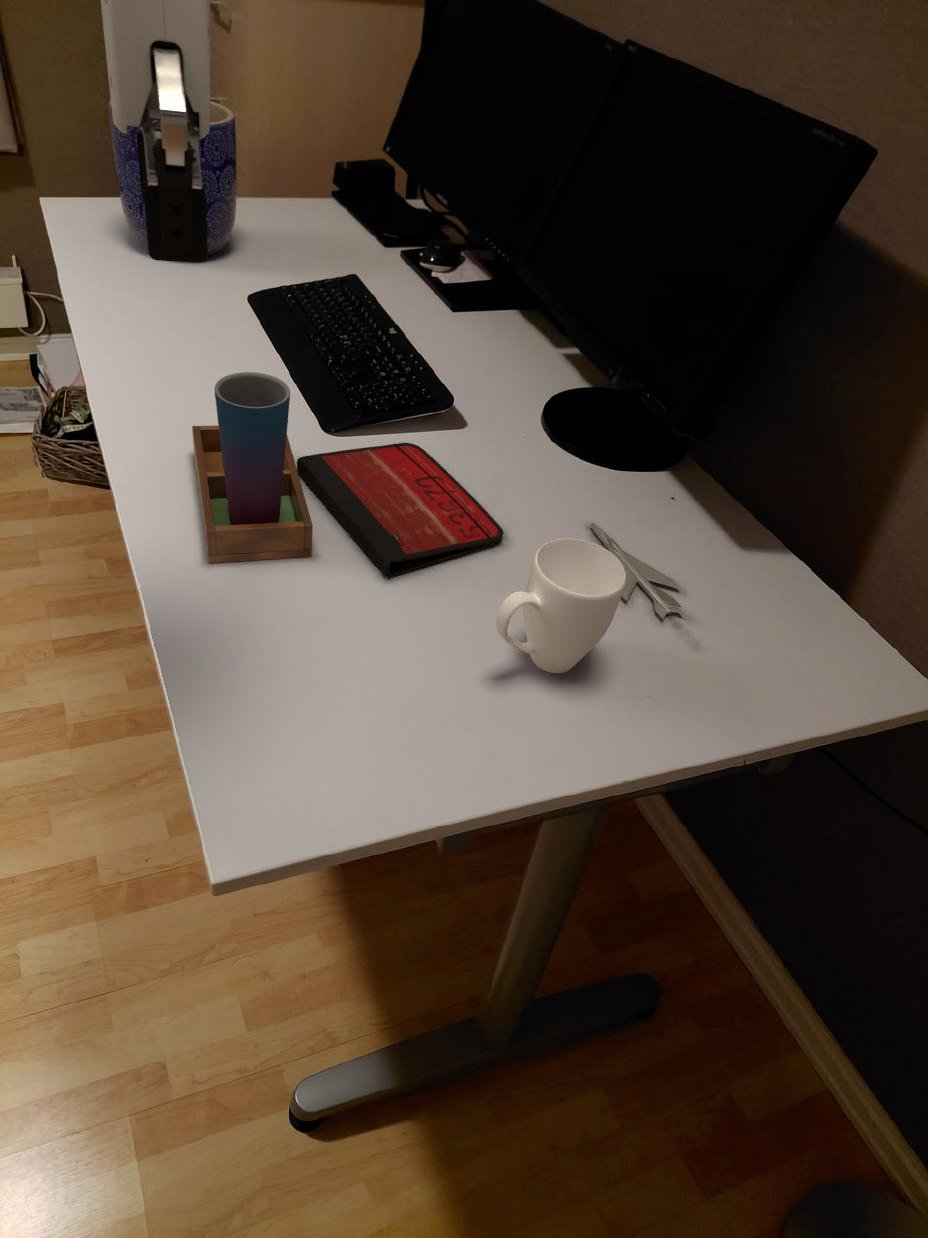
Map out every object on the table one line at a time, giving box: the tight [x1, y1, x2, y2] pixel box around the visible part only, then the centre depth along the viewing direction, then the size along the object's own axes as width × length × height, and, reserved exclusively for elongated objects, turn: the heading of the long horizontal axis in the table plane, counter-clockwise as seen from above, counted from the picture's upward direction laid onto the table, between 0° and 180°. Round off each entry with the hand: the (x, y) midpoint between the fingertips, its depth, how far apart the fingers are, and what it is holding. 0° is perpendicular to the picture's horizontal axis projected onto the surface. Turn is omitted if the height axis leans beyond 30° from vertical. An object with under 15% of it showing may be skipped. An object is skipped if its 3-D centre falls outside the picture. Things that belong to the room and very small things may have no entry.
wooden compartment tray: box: [191, 425, 314, 564], centre depth 91 cm, size 10×20×4 cm, turn 17°
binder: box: [296, 442, 504, 579], centre depth 95 cm, size 16×2×21 cm
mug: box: [495, 537, 626, 674], centre depth 77 cm, size 12×8×11 cm
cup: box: [214, 371, 291, 525], centre depth 83 cm, size 7×7×15 cm
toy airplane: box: [590, 522, 699, 646], centre depth 91 cm, size 8×21×2 cm, turn 25°
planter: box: [108, 99, 238, 257], centre depth 135 cm, size 18×18×21 cm
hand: (173, 228), depth 51 cm, fingers open, 9 cm apart
